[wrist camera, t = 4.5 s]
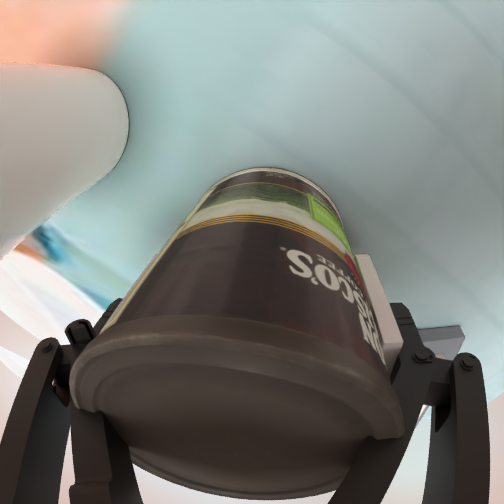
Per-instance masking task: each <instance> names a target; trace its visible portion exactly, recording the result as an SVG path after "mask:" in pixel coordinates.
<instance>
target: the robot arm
mask: <svg viewBox="0 0 504 504" xmlns="http://www.w3.org/2000/svg"><path fill="white" fill-rule="evenodd" d="M156 255H157V254H156ZM156 255H155V256H154V258H155V257H156ZM154 258H153V259H154ZM153 259H152V260H151V262H152V261H153ZM151 262H150V263H151ZM150 263H149V264H148V266H149V265H150ZM355 263H356V266H357V269H358V272H359V275H360V277H361V280H362V284H363V287H364V290H365V293H366V296H367V299H368V303H369V307H370V310H371V313H372V315H373V319H374V323H375V325H376V328H377V332H378V336H379V341H380V344H381V347H382V351H383V355H384V359H385V362H386V367H387V371H388V373H389V377H390V382H391V386H392V388H393V389H394V391H395V393H396V395H397V397H398V400H399V403H400V407H401V410H402V413H403V418H404V426H405V431H404V435H403V436H401V437H400V438H388V439H380V440H377V439H375V438H374V437H373V436H368V437H367V439H366V441H365V443H364V445H363V447H362V448H361V450H360V452H359V454H358V456H357V457H356V459H355V461H354V463H353V464H352V466H351V468H350V469H349V471H348V473H347V474H346V476H345V478H344V479H343V481H342V482H341V484H340V486H339V487H338V489H337V490H336V492H335V493H334V495H333V497H332V498H331V499H330V501H329V502H328V504H380V503H381V501H382V499H383V498H384V495H385V493H386V492H387V490H388V488H389V486H390V484H391V482H392V480H393V478H394V475H395V473H396V471H397V469H398V467H399V465H400V462H401V460H402V458H403V456H404V453H405V451H406V449H407V446H408V444H409V441H410V439H411V436H412V434H413V431H414V429H415V426H416V423H417V421H418V418H419V415H420V412H421V409H422V406H423V405H429V406H432V413H431V434H430V448H429V458H428V466H427V475H426V482H425V489H424V495H423V501H422V504H488V503H489V487H490V441H489V423H488V412H487V402H486V394H485V386H484V379H483V373H482V367H481V363H480V361H479V360H478V358H477V357H476V356H474V355H472V354H470V353H466V352H465V353H460V354H457V355H456V357H455V358H454V360H447V359H441V358H437V357H436V356H435V354H434V352H433V351H432V350H431V349H429V348H427V347H425V346H424V345H423V342H422V340H421V337H420V335H419V332H418V330H417V328H416V325H415V323H414V321H413V319H412V316H411V314H410V312H409V309H408V308H407V307H405V306H404V305H403V304H402V303H389V302H388V299H387V297H386V294H385V292H384V289H383V287H382V284H381V282H380V279H379V277H378V275H377V272H376V270H375V268H374V265H373V263H372V261H371V258H370V256H369V254H355ZM148 266H147V267H148ZM147 267H146V268H145V270H146V269H147ZM145 270H144V271H145ZM144 271H143V272H142V274H143V273H144ZM142 274H141V275H142ZM141 275H140V276H139V278H140V277H141ZM139 278H138V279H139ZM138 279H137V280H136V282H137V281H138ZM136 282H135V283H136ZM135 283H134V284H133V286H134V285H135ZM133 286H132V287H133ZM132 287H131V289H132ZM131 289H130V290H131ZM130 290H129V291H130ZM129 291H128V293H129ZM128 293H127V294H128ZM127 294H126V295H127ZM125 297H126V296H125ZM125 297H124V298H125ZM124 298H123V299H121V298H118V299H117V300H115V301H114V302H113V303H111V304H110V305H109V307H108V308H107V310H106V312H104V314H103V315H102V317H101V318H100V319H99V321H98V322H97V323H96V325H95V326H94V328H92V325H91V323H90V322H89V321H88V320H85V319H79V320H76V321H73V322H72V323H70V324H69V325H68V326H67V327H66V329H65V334H66V336H67V338H68V340H69V342H70V345H60V344H59V342H58V340H57V339H56V338H52V337H50V338H46V339H44V340H42V341H41V342H40V343H39V344H38V346H37V347H36V349H35V351H34V353H33V356H32V358H31V360H30V362H29V365H28V367H27V369H26V372H25V374H24V377H23V379H22V382H21V384H20V387H19V389H18V392H17V395H16V398H15V400H14V403H13V406H12V409H11V412H10V414H9V417H8V420H7V423H6V427H5V430H4V433H3V436H2V440H1V443H0V504H58V499H59V491H60V483H61V475H62V469H63V462H64V456H65V450H66V445H67V439H68V434H69V429H70V425H71V441H72V454H73V465H74V474H75V484H74V485H72V486H70V489H69V497H70V504H143V501H142V498H141V495H140V492H139V488H138V484H137V480H136V477H135V473H134V469H133V465H132V460H131V456H130V451H129V447H128V445H127V444H126V443H125V442H124V440H123V439H122V438H121V436H120V435H119V434H118V433H117V431H116V430H115V429H114V427H113V426H112V424H111V423H110V422H109V420H108V419H107V418H106V416H105V415H104V413H103V412H102V411H97V412H94V413H93V412H89V411H86V410H83V409H78V408H77V407H76V406H75V404H74V402H73V399H72V396H71V393H70V385H69V379H70V373H71V370H72V367H73V365H74V363H75V361H76V359H77V358H78V357H79V355H80V354H81V353H82V351H83V350H84V349H85V347H86V346H87V345H88V344H89V343H90V342H91V341H92V340H93V339H94V338H95V337H96V336H98V335H99V334H100V332H101V331H102V329H103V328H104V326H105V325H106V324H107V322H108V321H109V319H110V318H111V317H112V315H113V314H114V312H115V311H116V309H117V308H118V307H119V305H120V304H121V302H122V301H123V300H124ZM53 381H54V383H53V385H52V382H53Z"/></svg>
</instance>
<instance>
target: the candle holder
mask: <svg viewBox="0 0 504 504" xmlns="http://www.w3.org/2000/svg"><path fill="white" fill-rule="evenodd" d="M128 129H129V119H128V111H127V106H126V103H125V100H124V97H123V95H122V93H121V91H120V90H119V88H118V87H117V85H116V84H115V83H114V82H113V81H112V80H111V79H110V78H109V77H107V76H106V75H104V74H103V73H101V72H98V71H95V70H92V69H87V68H81V67H73V66H64V65H53V64H39V63H16V62H0V261H1V260H2V259H3V258H4V257H5V256H6V255H7V254H8V253H10V252H11V251H12V250H13V249H14V248H15V247H16V246H17V245H18V244H20V243H21V242H22V241H23V240H24V239H25V238H26V237H28V236H29V235H30V234H31V233H32V232H33V231H35V230H36V229H37V228H38V227H39V226H41V225H42V224H43V223H44V222H46V221H47V220H48V219H49V218H51V217H52V216H53V215H54V214H56V213H57V212H58V211H59V210H61V209H62V208H63V207H65V206H66V205H67V204H69V203H70V202H71V201H73V200H74V199H75V198H77V197H78V196H79V195H81V194H82V193H83V192H85V191H86V190H88V189H89V188H90V187H92V186H93V185H94V184H96V183H97V182H99V181H100V180H101V179H103V178H104V177H105V176H106V175H107V174H108V173H109V172H110V171H111V170H112V169H113V168H114V167H115V166H116V164H117V163H118V161H119V159H120V158H121V156H122V154H123V151H124V149H125V145H126V142H127V137H128Z"/></svg>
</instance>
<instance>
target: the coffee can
mask: <svg viewBox="0 0 504 504" xmlns="http://www.w3.org/2000/svg"><path fill="white" fill-rule="evenodd" d="M69 385H70V393H71V396H72V399H73V402H74V404H75V406H76V407H77V408H78V409H83V410H86V411H89V412H93V413H94V412H97V411H102V412H103V413H104V415H105V416H106V418H107V419H108V420H109V422H110V423H111V424H112V426H113V427H114V429H115V430H116V431H117V433H118V434H119V435H120V436H121V438H122V439H123V440H124V442H125V443H126V444H127V445H128V447H129V451H130V456H131V460H132V463H133V464H135V465H137V466H138V467H140V468H141V469H143V470H145V471H147V472H149V473H151V474H154V475H156V476H158V477H160V478H162V479H165V480H167V481H170V482H172V483H175V484H178V485H181V486H184V487H187V488H190V489H194V490H197V491H201V492H205V493H209V494H214V495H219V496H225V497H231V498H238V499H248V500H285V499H296V498H304V497H309V496H316V495H319V494H324V493H328V492H331V491H335V490H337V489H338V487H339V486H340V484H341V482H342V481H343V479H344V478H345V476H346V474H347V473H348V471H349V469H350V468H351V466H352V464H353V463H354V461H355V459H356V457H357V456H358V454H359V452H360V450H361V448H362V447H363V445H364V443H365V441H366V439H367V437H368V436H373V437H374V438H375V439H377V440H380V439H388V438H400V437H401V436H403V435H404V431H405V426H404V418H403V413H402V410H401V407H400V403H399V400H398V397H397V395H396V393H395V391H394V389H393V388H392V386H391V382H390V377H389V373H388V371H387V367H386V362H385V359H384V355H383V351H382V347H381V344H380V341H379V336H378V332H377V328H376V325H375V323H374V319H373V315H372V313H371V310H370V307H369V303H368V299H367V296H366V293H365V290H364V287H363V284H362V280H361V277H360V275H359V272H358V269H357V266H356V263H355V260H354V257H353V254H352V251H351V249H350V246H349V243H348V240H347V237H346V235H345V231H344V226H343V223H342V220H341V217H340V215H339V212H338V210H337V208H336V206H335V205H334V203H333V202H332V200H331V199H330V198H329V197H328V196H327V194H326V193H325V192H324V191H323V190H321V189H320V188H319V187H318V186H317V185H315V184H314V183H312V182H311V181H309V180H308V179H306V178H304V177H302V176H300V175H298V174H295V173H293V172H289V171H286V170H283V169H277V168H253V169H247V170H243V171H239V172H237V173H234V174H232V175H229V176H227V177H225V178H223V179H222V180H220V181H218V182H217V183H216V184H214V185H213V186H212V187H211V188H210V189H209V190H208V191H207V192H206V193H205V194H204V195H203V197H202V198H201V199H200V201H199V202H198V204H197V206H196V207H195V208H194V209H193V211H192V212H191V213H190V214H189V215H188V217H187V218H186V219H185V220H184V222H183V223H182V224H181V225H180V227H179V228H178V229H177V230H176V231H175V233H174V234H173V235H172V236H171V237H170V239H169V240H168V241H167V243H166V244H165V245H164V246H163V248H162V249H161V250H160V252H159V253H158V254H157V255H156V257H155V258H154V259H153V261H152V262H151V263H150V265H149V266H148V267H147V269H146V270H145V271H144V273H143V274H142V275H141V277H140V278H139V279H138V281H137V282H136V283H135V285H134V286H133V287H132V289H131V290H130V291H129V293H128V294H127V295H126V297H125V298H124V300H123V301H122V302H121V304H120V305H119V307H118V308H117V309H116V311H115V312H114V314H113V315H112V317H111V318H110V319H109V321H108V322H107V324H106V325H105V326H104V328H103V329H102V331H101V332H100V334H99V335H98V336H96V337H95V338H94V339H93V340H92V341H91V342H90V343H89V344H88V345H87V346H86V347H85V349H84V350H83V351H82V353H81V354H80V355H79V357H78V358H77V359H76V361H75V363H74V365H73V367H72V370H71V373H70V379H69Z"/></svg>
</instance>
